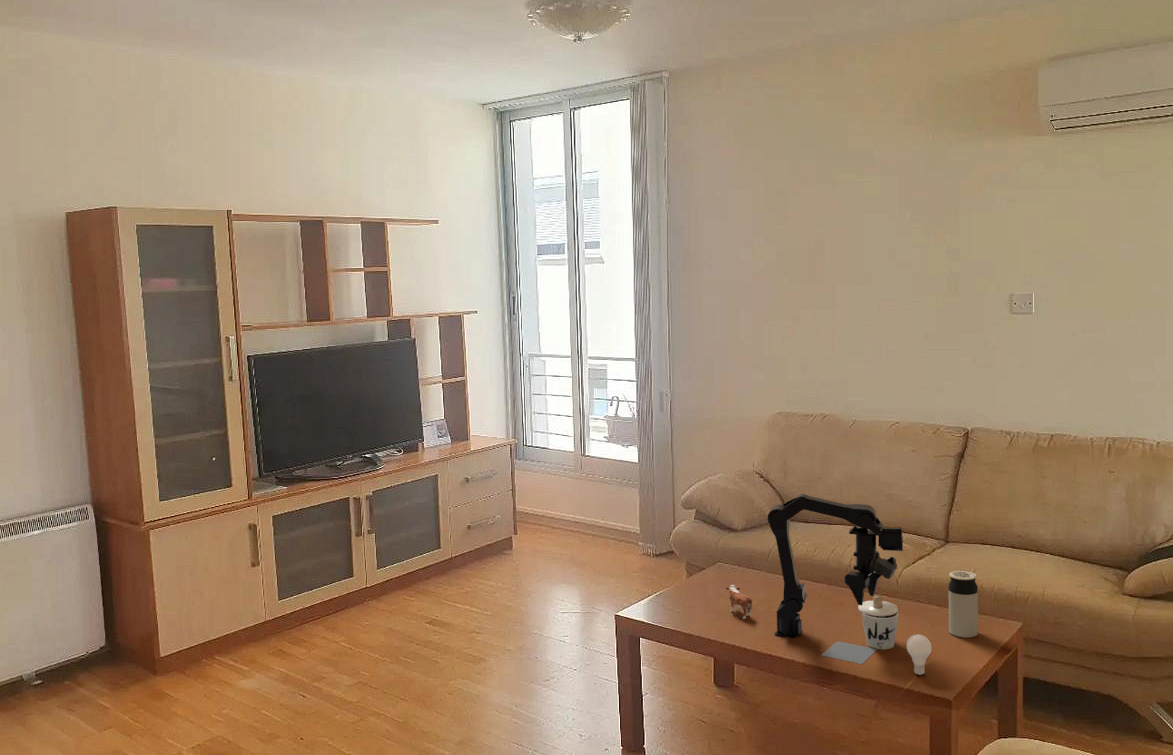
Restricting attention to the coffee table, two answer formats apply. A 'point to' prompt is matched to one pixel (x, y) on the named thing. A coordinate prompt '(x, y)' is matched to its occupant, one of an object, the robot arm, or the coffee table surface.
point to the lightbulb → (919, 651)
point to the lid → (878, 607)
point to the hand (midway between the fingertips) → (866, 600)
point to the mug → (880, 630)
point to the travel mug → (963, 604)
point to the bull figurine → (740, 600)
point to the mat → (849, 652)
